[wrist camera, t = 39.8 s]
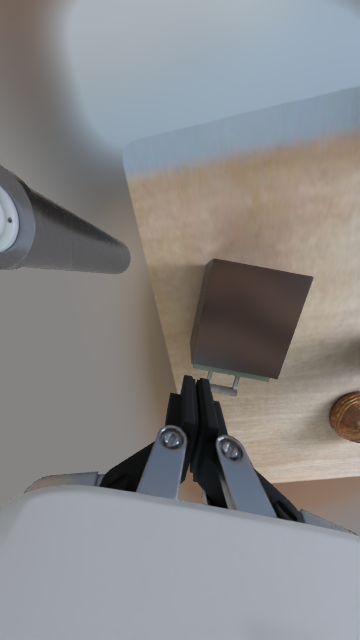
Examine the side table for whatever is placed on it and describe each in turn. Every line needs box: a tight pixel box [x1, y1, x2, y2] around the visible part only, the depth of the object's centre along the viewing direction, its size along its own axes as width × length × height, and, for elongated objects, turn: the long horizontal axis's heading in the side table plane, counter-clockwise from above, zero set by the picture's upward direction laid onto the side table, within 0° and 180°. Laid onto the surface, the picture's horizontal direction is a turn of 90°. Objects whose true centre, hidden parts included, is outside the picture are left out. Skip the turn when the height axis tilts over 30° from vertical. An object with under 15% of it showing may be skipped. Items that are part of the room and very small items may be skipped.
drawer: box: [193, 364, 270, 396], centre depth 30 cm, size 20×12×7 cm, turn 170°
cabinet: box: [190, 259, 314, 379], centre depth 29 cm, size 16×14×9 cm
